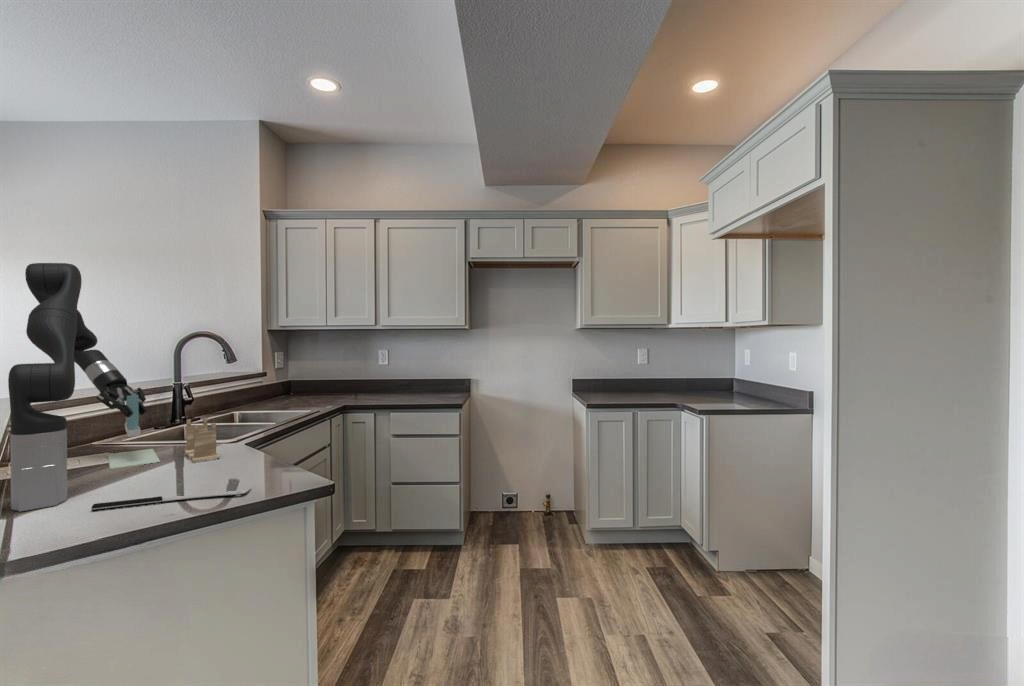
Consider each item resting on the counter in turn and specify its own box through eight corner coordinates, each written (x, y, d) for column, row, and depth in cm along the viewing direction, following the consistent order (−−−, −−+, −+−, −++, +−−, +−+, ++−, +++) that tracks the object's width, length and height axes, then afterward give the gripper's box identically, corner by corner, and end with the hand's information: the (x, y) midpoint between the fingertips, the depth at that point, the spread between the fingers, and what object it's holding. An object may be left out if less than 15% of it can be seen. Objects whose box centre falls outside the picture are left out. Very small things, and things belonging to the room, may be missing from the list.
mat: (160, 462, 144) (160, 461, 144) (109, 469, 136) (109, 468, 136) (152, 449, 162) (152, 448, 162) (107, 455, 154) (107, 454, 154)
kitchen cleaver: (254, 482, 121) (246, 489, 112) (254, 489, 121) (246, 496, 111) (108, 497, 110) (86, 506, 101) (107, 505, 110) (86, 514, 100)
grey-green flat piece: (140, 435, 144) (140, 397, 144) (128, 436, 142) (128, 398, 142) (136, 427, 157) (136, 392, 157) (124, 428, 155) (124, 393, 155)
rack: (218, 459, 148) (218, 423, 148) (193, 463, 143) (192, 426, 143) (208, 449, 162) (207, 417, 162) (184, 452, 157) (183, 419, 157)
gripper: (89, 370, 143) (123, 409, 141) (133, 367, 157) (164, 403, 156) (75, 387, 144) (108, 426, 142) (120, 382, 158) (150, 418, 156)
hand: (137, 414), depth 149 cm, fingers closed on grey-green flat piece, 4 cm apart
